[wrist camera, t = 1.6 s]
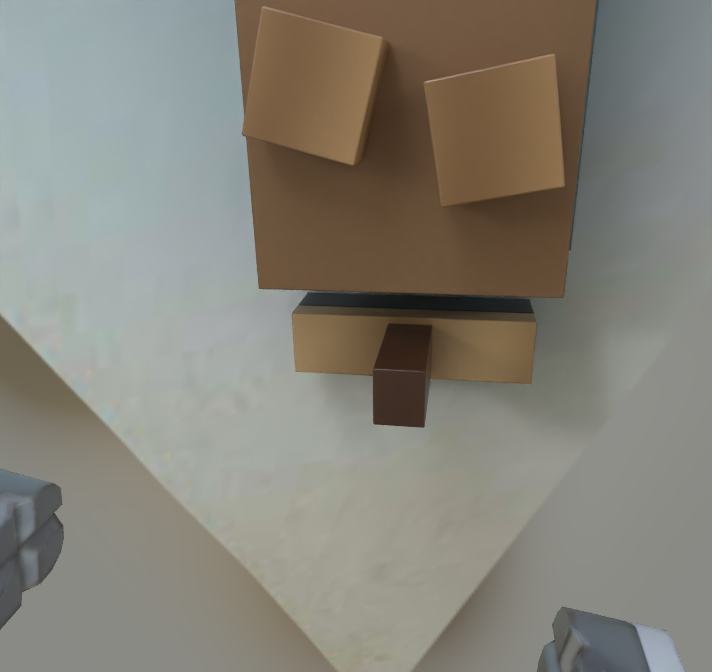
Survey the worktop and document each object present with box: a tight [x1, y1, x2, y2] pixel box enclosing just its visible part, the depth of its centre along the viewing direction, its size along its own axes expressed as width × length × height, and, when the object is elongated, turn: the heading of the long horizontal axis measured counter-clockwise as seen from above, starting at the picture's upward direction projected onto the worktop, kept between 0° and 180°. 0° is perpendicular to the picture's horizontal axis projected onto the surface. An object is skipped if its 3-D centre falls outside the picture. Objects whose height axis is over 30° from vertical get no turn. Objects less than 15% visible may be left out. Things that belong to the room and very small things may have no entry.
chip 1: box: [242, 6, 390, 166], centre depth 20 cm, size 4×4×2 cm
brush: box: [292, 293, 537, 427], centre depth 27 cm, size 11×3×8 cm, turn 91°
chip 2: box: [424, 54, 565, 207], centre depth 20 cm, size 4×4×2 cm
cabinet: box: [235, 0, 599, 298], centre depth 24 cm, size 12×14×6 cm
